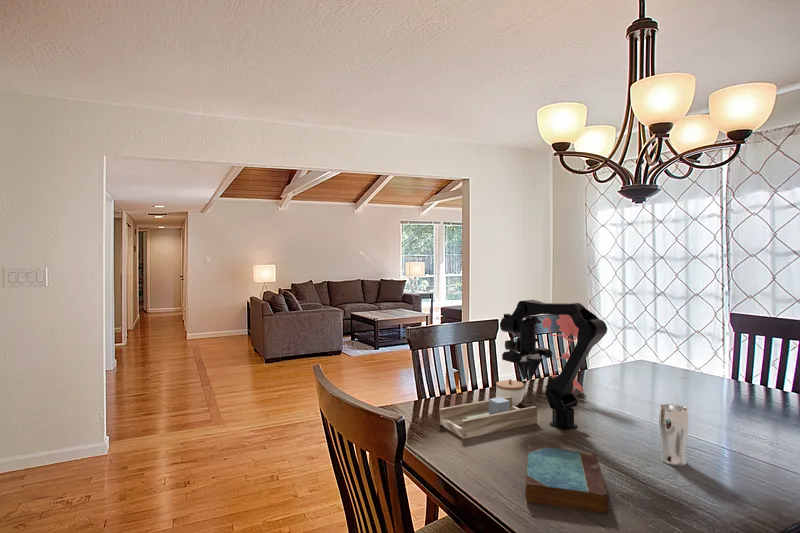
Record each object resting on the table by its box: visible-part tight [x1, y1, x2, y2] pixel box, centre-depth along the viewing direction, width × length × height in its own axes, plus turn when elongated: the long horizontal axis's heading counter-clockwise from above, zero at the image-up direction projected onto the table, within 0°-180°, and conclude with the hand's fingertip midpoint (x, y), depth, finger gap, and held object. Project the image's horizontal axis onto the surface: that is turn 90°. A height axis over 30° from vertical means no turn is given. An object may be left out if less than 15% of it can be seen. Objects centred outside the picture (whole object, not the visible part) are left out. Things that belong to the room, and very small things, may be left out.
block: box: [488, 396, 510, 414], centre depth 161 cm, size 5×5×5 cm
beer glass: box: [658, 403, 689, 467], centre depth 129 cm, size 7×7×15 cm
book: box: [524, 445, 609, 515], centre depth 116 cm, size 23×18×5 cm
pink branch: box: [541, 315, 587, 399], centre depth 199 cm, size 15×26×35 cm, turn 38°
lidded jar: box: [495, 379, 525, 407], centre depth 181 cm, size 11×11×9 cm
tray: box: [439, 396, 538, 440], centre depth 159 cm, size 14×30×6 cm, turn 117°
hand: (527, 378), depth 168 cm, fingers open, 3 cm apart
